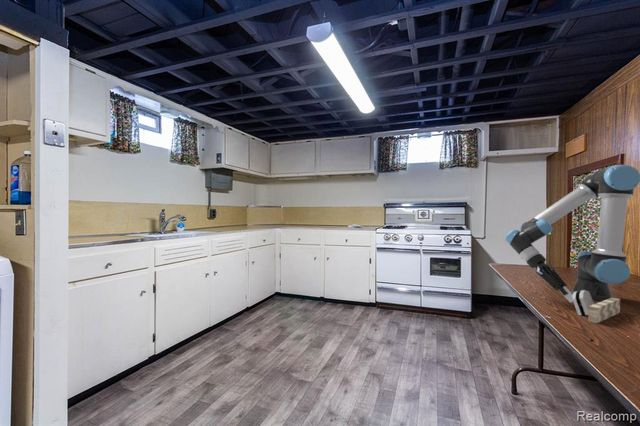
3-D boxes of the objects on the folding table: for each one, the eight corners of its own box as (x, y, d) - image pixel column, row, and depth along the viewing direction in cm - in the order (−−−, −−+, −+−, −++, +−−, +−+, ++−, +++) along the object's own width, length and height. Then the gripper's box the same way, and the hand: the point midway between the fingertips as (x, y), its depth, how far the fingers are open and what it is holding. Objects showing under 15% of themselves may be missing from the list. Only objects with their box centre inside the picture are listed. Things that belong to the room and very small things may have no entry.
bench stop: (611, 311, 130) (612, 297, 130) (619, 312, 128) (620, 298, 128) (588, 321, 117) (588, 306, 117) (596, 323, 115) (597, 308, 115)
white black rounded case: (594, 318, 121) (583, 293, 123) (579, 319, 124) (569, 294, 127) (600, 309, 132) (590, 287, 134) (586, 310, 135) (577, 288, 137)
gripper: (533, 261, 152) (572, 303, 138) (520, 263, 145) (559, 307, 131) (545, 252, 147) (587, 294, 133) (532, 253, 141) (575, 298, 127)
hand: (573, 300), depth 132 cm, fingers closed
